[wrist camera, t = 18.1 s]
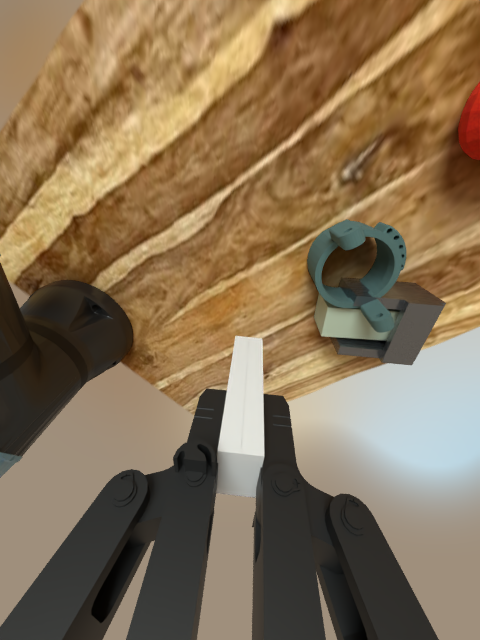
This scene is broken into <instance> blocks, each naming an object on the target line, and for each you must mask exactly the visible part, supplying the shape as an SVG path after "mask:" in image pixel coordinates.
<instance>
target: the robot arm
mask: <svg viewBox="0 0 480 640" xmlns="http://www.w3.org/2000/svg"><path fill="white" fill-rule="evenodd" d="M0 256H1V255H0ZM132 342H133V332H132V327H131V324H130V322H129V319H128V317H127V316H126V314H125V312H124V311H123V310H122V308H121V307H120V306H119V305H118V304H117V303H116V302H115V301H114V300H113V299H112V298H111V297H110V296H108V295H107V294H106V293H104V292H103V291H101V290H99V289H97V288H96V287H93V286H91V285H89V284H86V283H83V282H79V281H73V280H61V281H56V282H53V283H51V284H48V285H46V286H44V287H42V288H40V289H38V290H37V291H35V292H34V293H33V294H32V295H31V296H30V297H29V299H28V300H27V301H26V302H25V303H24V304H23V306H22V307H21V308H19V306H18V304H17V301H16V299H15V297H14V294H13V292H12V289H11V287H10V285H9V282H8V280H7V277H6V275H5V273H4V270H3V268H2V266H1V263H0V478H1V477H2V475H3V474H5V472H7V471H8V470H9V469H10V468H11V467H12V466H13V465H14V464H15V463H16V462H18V461H20V459H21V458H22V456H23V454H24V453H25V452H26V451H27V450H28V449H29V447H30V446H31V445H32V444H33V443H34V442H35V440H36V439H37V438H38V437H39V436H40V435H41V434H42V432H43V431H44V430H45V429H46V428H47V427H48V426H49V424H50V423H51V422H52V421H53V420H54V419H55V418H56V416H57V415H58V414H59V413H60V412H61V411H62V409H63V408H64V407H65V406H66V405H67V404H68V403H69V401H70V400H71V399H72V398H73V397H74V396H75V395H76V393H77V392H78V391H79V390H80V389H81V388H82V387H83V385H84V384H85V383H86V382H88V381H89V380H91V379H93V378H95V377H96V376H98V375H100V374H101V373H103V372H104V371H106V370H107V369H110V368H112V367H114V366H115V365H117V364H118V363H119V362H120V361H121V360H122V359H123V358H124V356H125V355H126V354H127V353H128V351H129V350H130V348H131V346H132ZM173 461H174V466H172V467H170V468H169V469H166V470H164V471H160V472H156V473H152V474H148V475H144V474H143V473H141V472H140V471H138V470H132V469H131V470H126V471H122V472H121V473H119V474H118V475H116V476H114V477H113V478H112V479H111V480H110V481H109V482H108V483H107V484H106V486H105V487H104V488H103V490H102V491H101V492H100V494H99V495H98V496H97V498H96V499H95V500H94V502H93V503H92V504H91V506H90V507H89V508H88V510H87V511H86V513H85V514H84V515H83V517H82V518H81V519H80V520H79V522H78V523H77V525H76V526H75V527H74V529H73V530H72V531H71V533H70V534H69V535H68V537H67V538H66V539H65V541H64V542H63V543H62V545H61V546H60V547H59V549H58V550H57V551H56V553H55V554H54V555H53V557H52V558H51V559H50V561H49V562H48V563H47V565H46V566H45V568H44V569H43V570H42V572H41V573H40V574H39V576H38V577H37V578H36V580H35V581H34V582H33V584H32V585H31V586H30V588H29V589H28V590H27V592H26V593H25V594H24V596H23V597H22V599H21V600H20V601H19V602H18V604H17V605H16V607H15V608H14V609H13V611H12V612H11V613H10V615H9V616H8V617H7V619H6V620H5V622H4V623H3V624H2V625H1V627H0V640H102V639H103V637H104V635H105V633H106V631H107V629H108V627H109V625H110V623H111V621H112V619H113V617H114V615H115V613H116V611H117V609H118V607H119V605H120V603H121V601H122V599H123V597H124V595H125V593H126V591H127V589H128V587H129V585H130V583H131V581H132V579H133V577H134V575H135V573H136V571H137V569H138V567H139V565H140V563H141V561H142V559H143V557H144V555H145V553H146V551H147V549H148V547H149V545H150V543H151V541H154V540H155V542H154V546H153V549H152V552H151V556H150V559H149V563H148V566H147V570H146V573H145V577H144V580H143V583H142V587H141V590H140V594H139V597H138V600H137V604H136V607H135V611H134V614H133V618H132V621H131V625H130V628H129V632H128V635H127V638H126V640H197V633H198V626H199V619H200V612H201V604H202V597H203V590H204V582H205V574H206V568H207V560H208V553H209V546H210V538H211V530H212V524H213V516H214V504H215V497H216V493H220V494H228V495H237V496H245V497H253V498H255V497H256V512H255V515H254V521H253V526H252V527H254V560H253V565H254V566H253V613H252V640H326V638H325V631H324V624H323V617H322V610H321V603H320V596H319V589H318V582H317V575H318V578H319V581H320V585H321V588H322V591H323V595H324V598H325V601H326V604H327V607H328V611H329V614H330V617H331V620H332V624H333V627H334V630H335V633H336V636H337V640H439V639H438V638H437V635H436V634H435V632H434V630H433V628H432V626H431V624H430V622H429V620H428V619H427V617H426V615H425V613H424V611H423V609H422V607H421V605H420V603H419V602H418V600H417V598H416V596H415V594H414V592H413V590H412V588H411V586H410V585H409V583H408V581H407V579H406V577H405V575H404V573H403V571H402V569H401V567H400V566H399V564H398V562H397V560H396V558H395V556H394V554H393V552H392V550H391V549H390V547H389V545H388V543H387V541H386V539H385V537H384V535H383V533H382V532H381V530H380V528H379V526H378V524H377V522H376V520H375V518H374V516H373V515H372V513H371V512H370V511H369V509H368V508H367V506H366V505H365V504H363V502H361V501H360V500H359V499H358V498H356V497H354V496H352V495H350V494H339V495H337V496H335V497H333V496H331V495H329V494H327V493H324V492H322V491H320V490H318V489H316V488H314V487H313V486H311V485H310V484H309V483H308V482H307V481H306V480H305V479H304V478H303V477H302V475H301V474H300V472H299V470H298V467H297V463H296V457H295V449H294V441H293V435H292V428H291V419H290V411H289V405H288V404H287V402H286V400H285V398H284V397H283V396H278V395H268V394H263V344H262V339H261V338H251V337H241V336H236V337H235V343H234V350H233V356H232V362H231V369H230V375H229V381H228V388H227V391H225V390H216V389H206V390H205V391H204V392H203V393H202V395H201V396H200V398H199V401H198V405H197V409H196V412H195V415H194V419H193V423H192V426H191V430H190V433H189V437H188V441H187V443H185V444H183V445H182V446H181V447H180V448H179V449H178V450H177V451H176V453H175V455H174V457H173ZM316 572H317V575H316Z"/></svg>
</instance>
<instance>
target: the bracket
mask: <svg viewBox="0 0 480 640" xmlns="http://www.w3.org/2000/svg"><path fill="white" fill-rule="evenodd" d="M365 237H374V238H375V241H376V244H377V255H376V259H375V262H374V264H373V266H372V268H371V269H370V271H369V272H368V273H367V274H366V275H365V276H364V277H363V278H362V279H361V280H360V281H361V282H362V283H363V284H364V285H365V286H366V287H367V288H368V289H369V290H370V291H369V292H368V293H369V294H370V295H371V296H372V297H380V298H381V297H382V296H384V295H385V294H386V293H387V292H388V291H389V290H390V289H391V287H392V286H393V285H394V283H395V282H396V280H397V278H398V276H399V274H400V271H401V270H403V268H404V265H405V261H406V247H405V242H404V240H403V238H402V236H401V235H400V234H399V232H398V231H397V230H395V229H394V228H393V227H392V226H389V225H386V224H384V223H381V222H379V223H378V224H377V225H376V226H375V227H374V228H372V227H370V226H368V225H366V224H363V223H360V222H355V221H350V220H344V221H343V222H340V223H338V224H336V225H334V226H332V227H330V228H328V229H327V230H325V231H323V232H322V233H321V234H320V235H319V236H318V237H317V238H316V239H315V241H314V242H313V244H312V246H311V248H310V250H309V253H308V259H307V264H308V270H309V273H310V275H311V277H312V279H313V281H314V283H315V285H316V288H317V290H318V291H319V293H320V295H321V296H322V297H323V298H324V299H325V300H326V301H327V302H329V303H330V304H332V305H334V306H337V307H341V308H358V307H359V308H360V310H361V312H362V314H363V315H364V317H365V318H366V319H367V321H368V322H369V323H370V325H371V326H372V328H373V329H374V330H375V331H376V332H379V333H383V332H387V331H390V330H391V329H393V328H394V325H395V324H394V320H393V317H392V314H391V313H390V312H389V311H388V310H387V309H386V307H385V306H384V305H383V304H382V303H381V302H380V301H379V300H378V299H375V300H373V301H371V302H368V303H366V304H364V305H361V307H360V306H353V304H354V302H353V301H352V299H351V298H347V296H346V295H345V293H344V292H343V291H342V289H341V288H340V287H337V288H335V287H329V286H326V285H324V284H322V280H321V274H322V269H323V266H324V263H325V261H326V259H327V258H328V256H329V255H330V254H331V253H332V251H333V250H334V249H336V248H337V247H338V246H340V247H341V248H342V249H344V250H350V249H353V248H356V247H358V246H359V245H361V244H362V243H364V242H365Z"/></svg>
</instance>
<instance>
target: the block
mask: <svg viewBox="0 0 480 640" xmlns="http://www.w3.org/2000/svg"><path fill="white" fill-rule="evenodd" d="M387 310H388V311H389V312H390V313H391V314H392V317H393V320H394V323H395V321H396V319H397V316H398V314H399V312H400V310H396V309H387ZM314 319H315V321H316V324H317V327H318V329H319V332H320V335H321V336H325V337H340V338H355V339H370V340H385V341H387V339H388V337H389V334H390V332H391V330H392V329H391V330H390V331H387V332H383V333H379V332H376V331H375V330H374V329H373V328H372V326H371V325H370V323H369V322H368V321H367V319H366V318H365V317H364V315H363V314H362V312H361V310H360V308H359V307H358V308H341V307H337V306H334V305H332V304H330V303H329V302H327V301H326V300H325V299H324V298H323V297H322V296H321V295H320V293H319V295H318V300H317V305H316V309H315V314H314Z"/></svg>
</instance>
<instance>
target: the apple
mask: <svg viewBox="0 0 480 640" xmlns="http://www.w3.org/2000/svg"><path fill="white" fill-rule="evenodd" d="M458 134H459V143H460V146H461V148H462V150H463V151H464V152H465V153H466V154H467V155H468V156H470V157H471V158H472V159H476V160H480V82H479V83H478V85H477V86H476V87H475V89H474V90H473V91H472V93H471V95H470V97H469V98H468V100H467V102H466V104H465V107H464V109H463V112H462V115H461V119H460V122H459V126H458Z"/></svg>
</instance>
